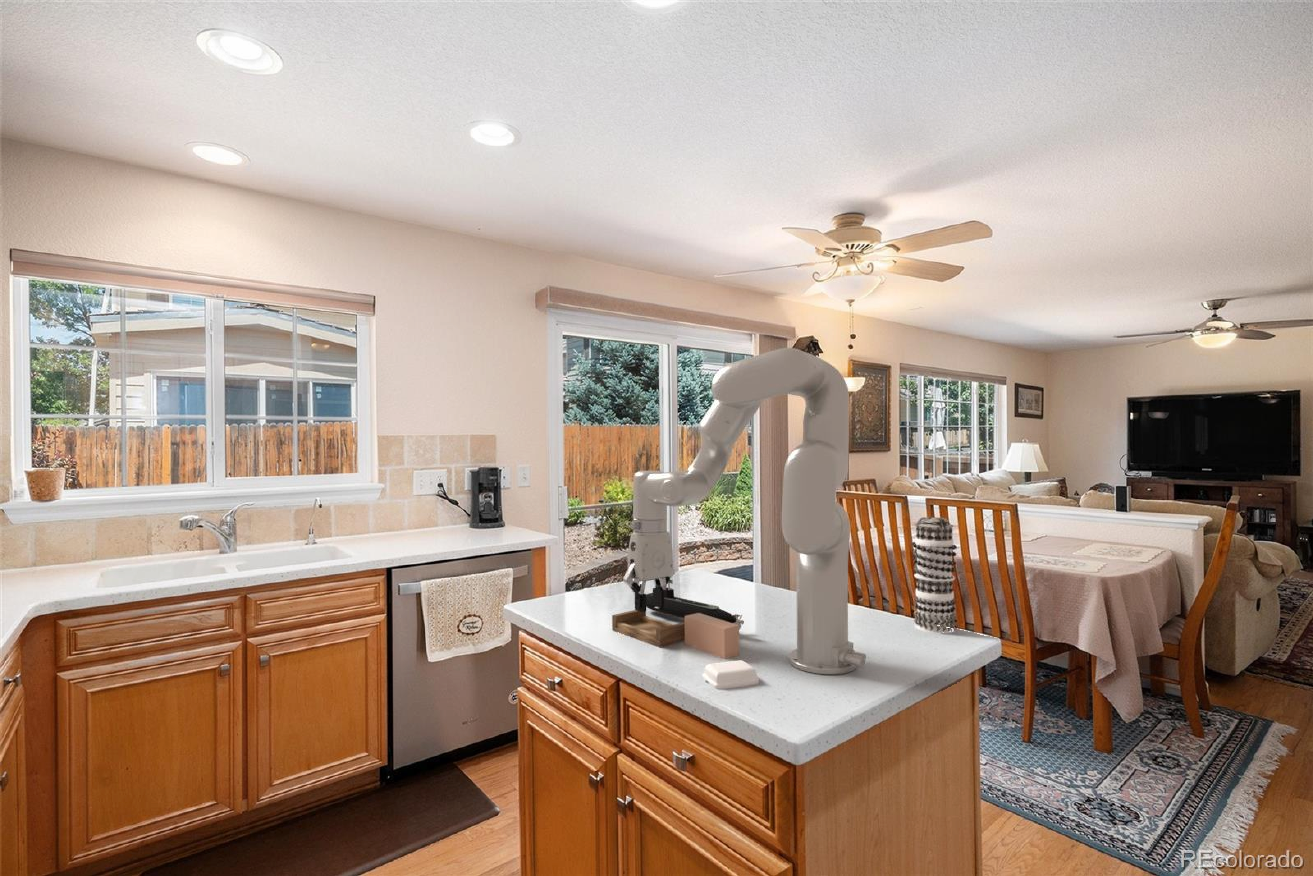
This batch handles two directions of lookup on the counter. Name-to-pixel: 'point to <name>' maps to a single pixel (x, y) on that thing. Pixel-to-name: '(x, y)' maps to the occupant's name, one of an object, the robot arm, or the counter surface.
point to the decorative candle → (934, 575)
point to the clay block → (712, 635)
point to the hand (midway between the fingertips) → (649, 608)
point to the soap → (730, 674)
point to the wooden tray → (648, 628)
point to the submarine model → (689, 607)
